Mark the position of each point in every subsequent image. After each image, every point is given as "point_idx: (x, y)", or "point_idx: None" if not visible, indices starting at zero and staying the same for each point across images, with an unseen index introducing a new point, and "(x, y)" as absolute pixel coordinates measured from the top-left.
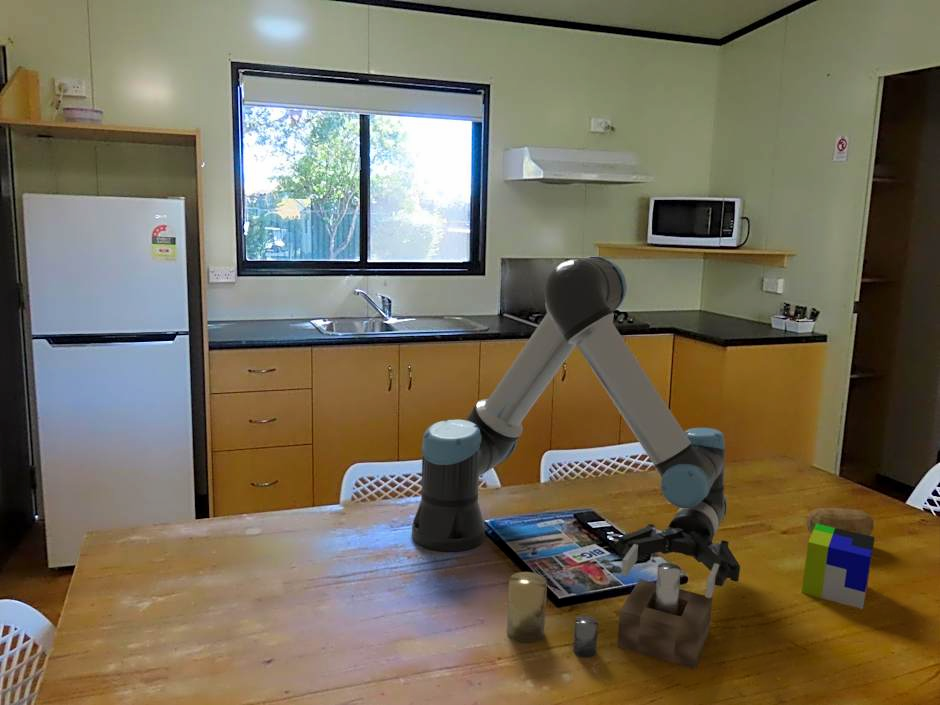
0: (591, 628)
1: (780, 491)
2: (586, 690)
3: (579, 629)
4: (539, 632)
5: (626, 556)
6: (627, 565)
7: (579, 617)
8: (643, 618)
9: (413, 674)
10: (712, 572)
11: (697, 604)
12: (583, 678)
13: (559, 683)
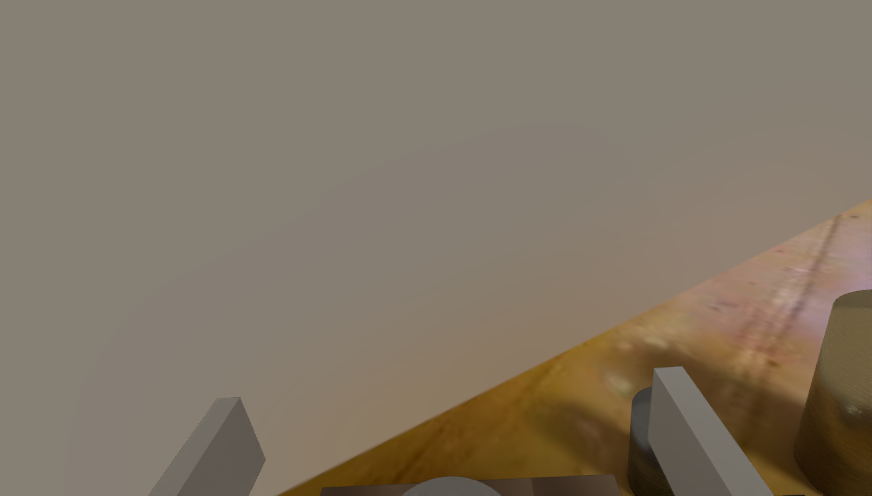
0: (636, 396)
1: None
2: (561, 371)
3: None
4: (801, 440)
5: (699, 404)
6: (656, 402)
7: None
8: (519, 481)
9: (808, 281)
10: (169, 489)
11: None
12: (588, 394)
13: (614, 363)
